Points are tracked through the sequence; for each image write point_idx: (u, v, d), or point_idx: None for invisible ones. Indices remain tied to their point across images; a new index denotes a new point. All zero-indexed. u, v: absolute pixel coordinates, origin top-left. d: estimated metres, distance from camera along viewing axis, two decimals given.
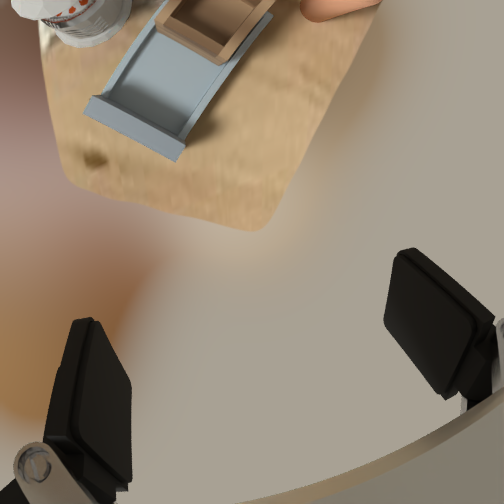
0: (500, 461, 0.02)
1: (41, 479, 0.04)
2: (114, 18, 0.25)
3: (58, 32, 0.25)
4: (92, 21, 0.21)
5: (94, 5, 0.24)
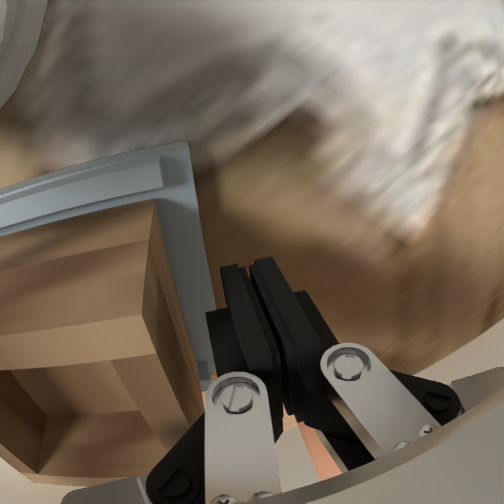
0: (500, 461, 0.02)
1: (234, 411, 0.06)
2: None
3: None
4: None
5: None
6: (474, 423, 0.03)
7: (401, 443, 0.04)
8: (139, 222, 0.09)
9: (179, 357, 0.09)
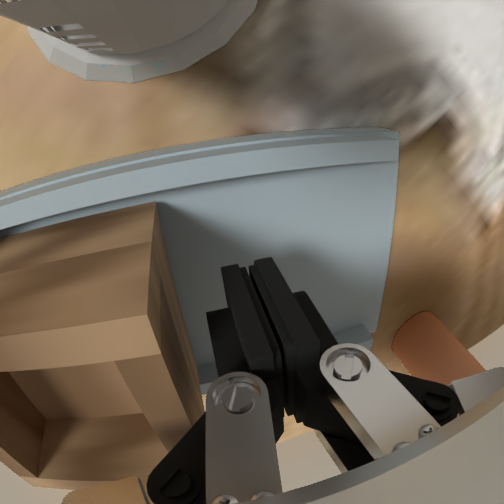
0: (500, 461, 0.02)
1: (235, 411, 0.06)
2: (141, 48, 0.08)
3: None
4: (30, 21, 0.04)
5: None
6: (474, 423, 0.03)
7: (400, 443, 0.04)
8: (141, 224, 0.09)
9: (181, 359, 0.09)
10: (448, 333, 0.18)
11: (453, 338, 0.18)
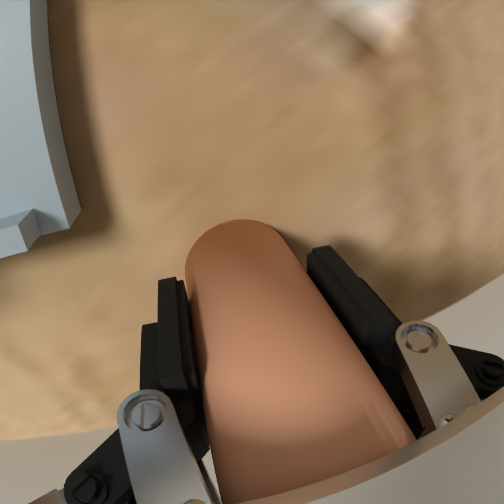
0: (500, 461, 0.02)
1: (146, 428, 0.05)
2: None
3: None
4: None
5: None
6: (474, 423, 0.03)
7: (476, 402, 0.05)
8: None
9: None
10: (275, 256, 0.09)
11: (282, 266, 0.09)
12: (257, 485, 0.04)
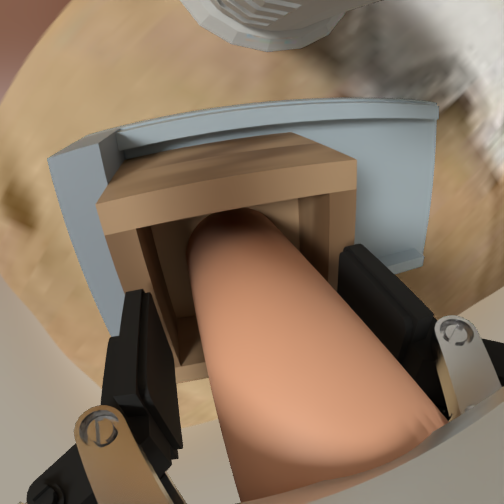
0: (500, 461, 0.02)
1: (103, 444, 0.05)
2: (285, 28, 0.12)
3: None
4: None
5: None
6: (474, 423, 0.03)
7: None
8: (298, 138, 0.13)
9: None
10: (266, 230, 0.11)
11: (272, 236, 0.10)
12: (253, 393, 0.05)
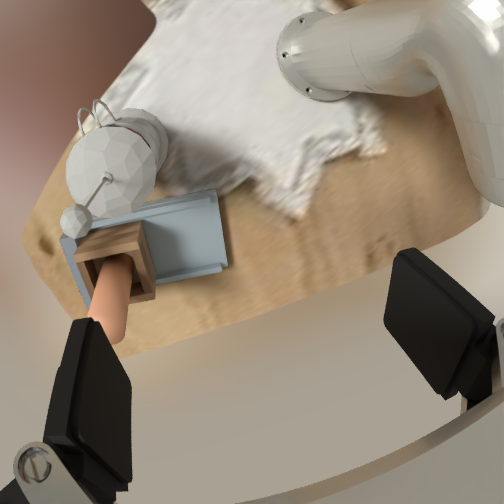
0: (500, 461, 0.02)
1: (41, 479, 0.04)
2: None
3: None
4: None
5: None
6: (474, 423, 0.03)
7: None
8: (137, 226, 0.37)
9: (146, 258, 0.37)
10: (117, 262, 0.35)
11: (116, 264, 0.34)
12: (93, 297, 0.30)
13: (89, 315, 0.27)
